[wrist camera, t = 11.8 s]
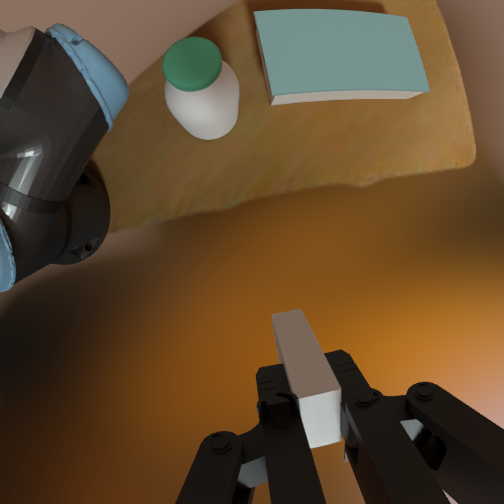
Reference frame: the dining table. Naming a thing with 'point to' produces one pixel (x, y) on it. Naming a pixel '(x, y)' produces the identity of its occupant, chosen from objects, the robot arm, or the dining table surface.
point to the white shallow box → (331, 92)
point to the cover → (338, 51)
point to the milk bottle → (200, 88)
